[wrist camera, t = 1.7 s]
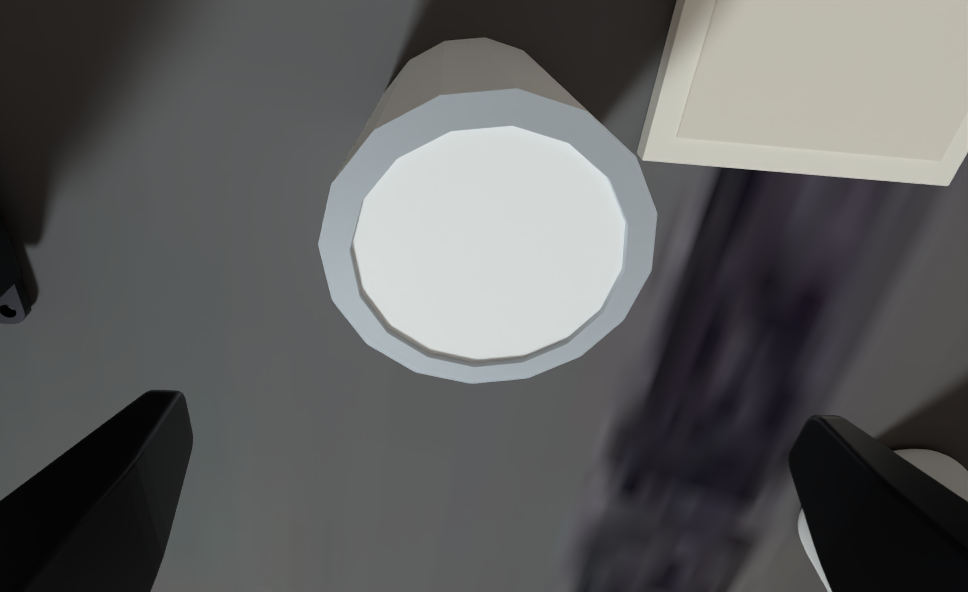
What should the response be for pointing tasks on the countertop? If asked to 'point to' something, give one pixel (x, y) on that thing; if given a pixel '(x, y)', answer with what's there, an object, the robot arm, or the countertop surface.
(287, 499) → the countertop surface
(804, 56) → the coaster
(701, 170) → the countertop surface
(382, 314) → the shot glass
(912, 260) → the countertop surface
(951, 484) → the pill bottle
